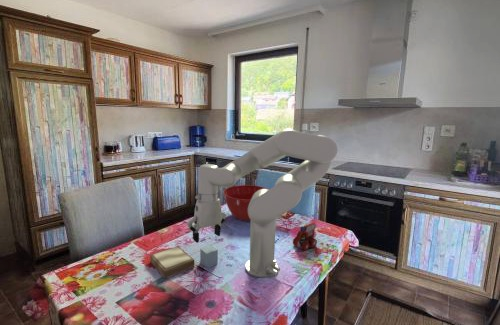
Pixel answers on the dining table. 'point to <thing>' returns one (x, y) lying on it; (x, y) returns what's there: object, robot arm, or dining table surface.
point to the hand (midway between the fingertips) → (206, 237)
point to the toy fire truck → (305, 237)
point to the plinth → (172, 261)
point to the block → (209, 256)
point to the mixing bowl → (240, 199)
